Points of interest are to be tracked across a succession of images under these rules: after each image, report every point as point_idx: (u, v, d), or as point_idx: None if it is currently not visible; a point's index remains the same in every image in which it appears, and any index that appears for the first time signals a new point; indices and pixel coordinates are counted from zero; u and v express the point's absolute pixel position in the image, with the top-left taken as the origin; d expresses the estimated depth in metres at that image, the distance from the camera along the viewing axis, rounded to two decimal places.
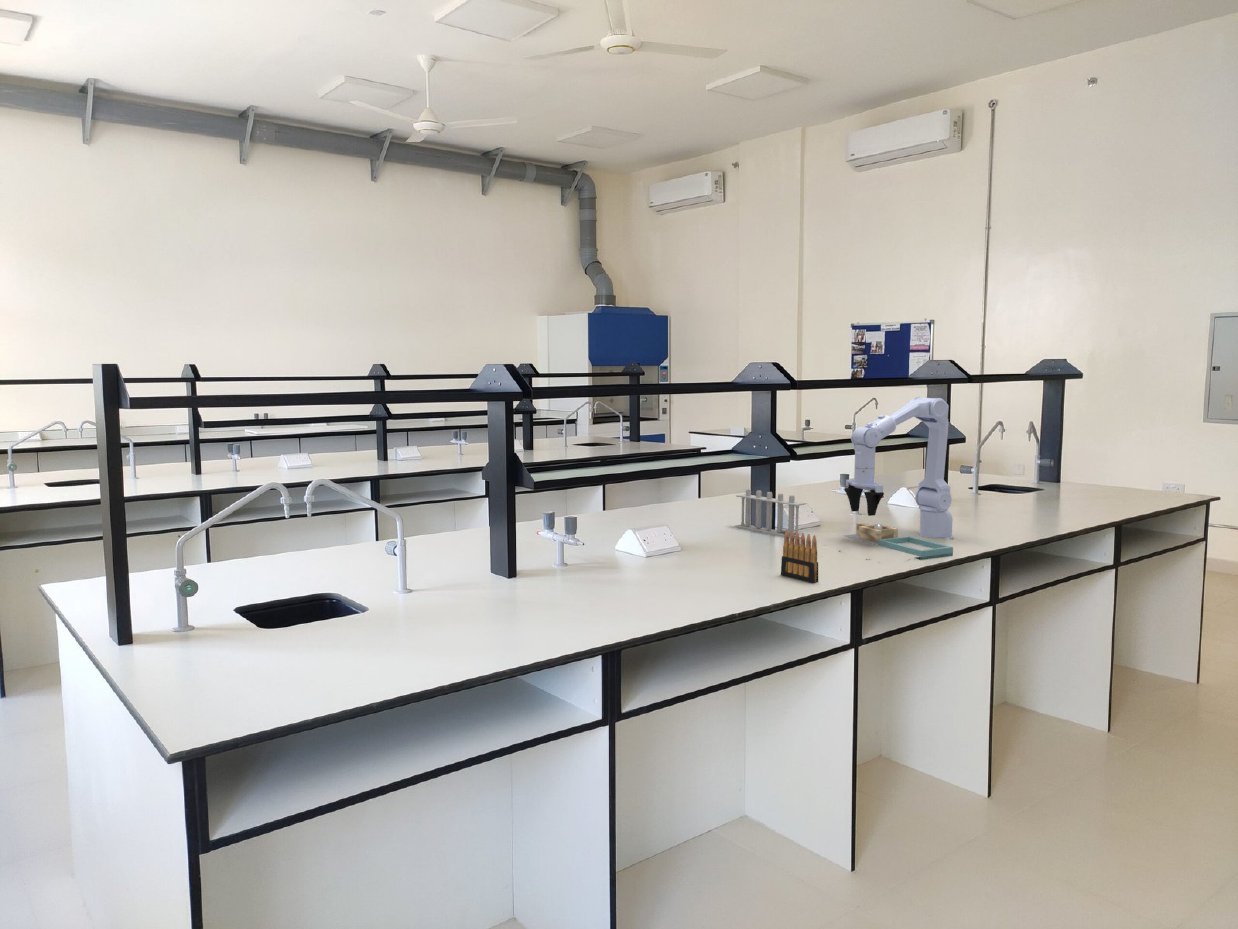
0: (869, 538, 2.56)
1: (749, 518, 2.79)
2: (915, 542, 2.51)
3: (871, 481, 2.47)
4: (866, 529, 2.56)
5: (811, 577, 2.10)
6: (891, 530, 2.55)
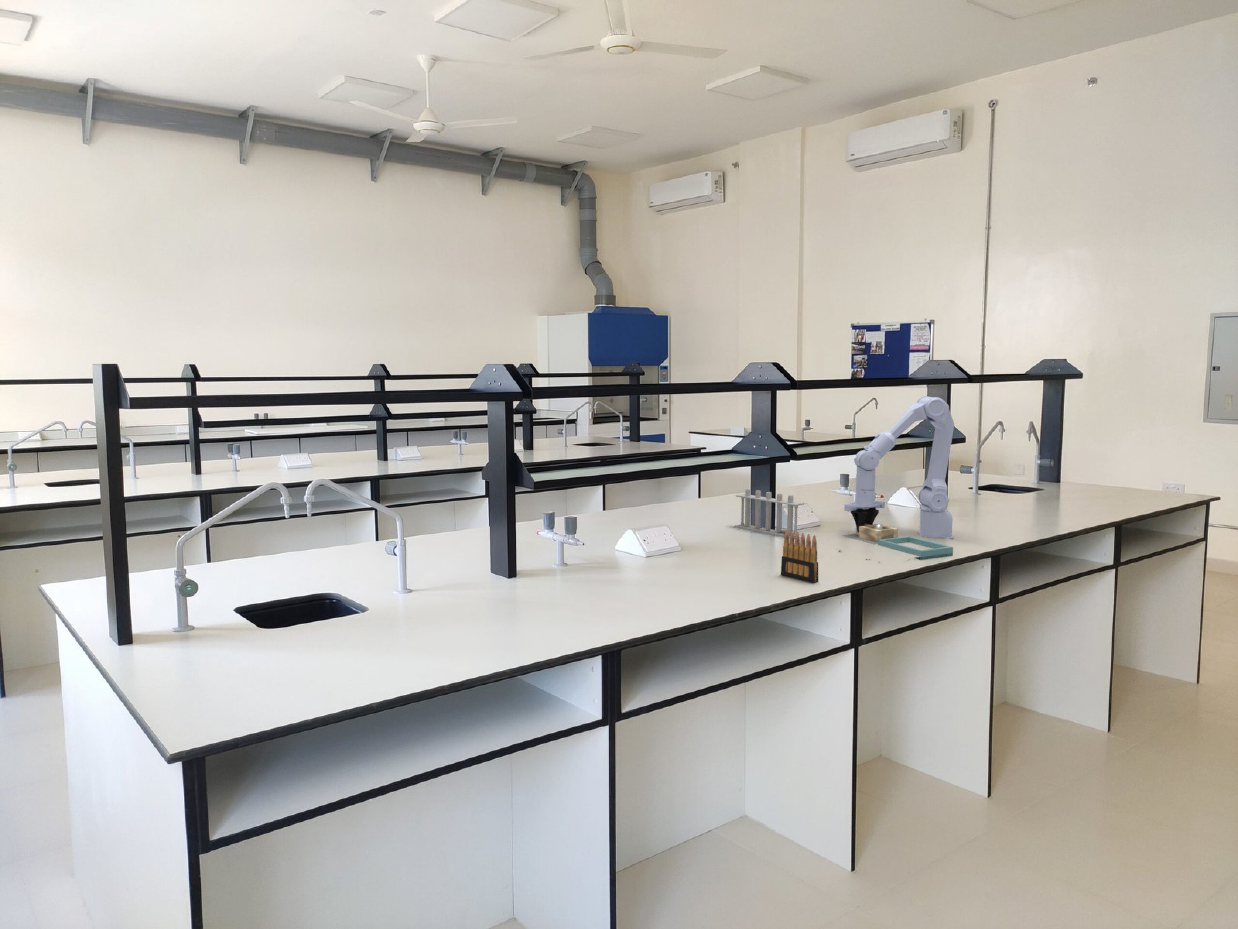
0: (869, 538, 2.56)
1: (749, 518, 2.79)
2: (915, 542, 2.51)
3: (858, 501, 2.61)
4: (866, 529, 2.56)
5: (811, 577, 2.10)
6: (891, 530, 2.55)
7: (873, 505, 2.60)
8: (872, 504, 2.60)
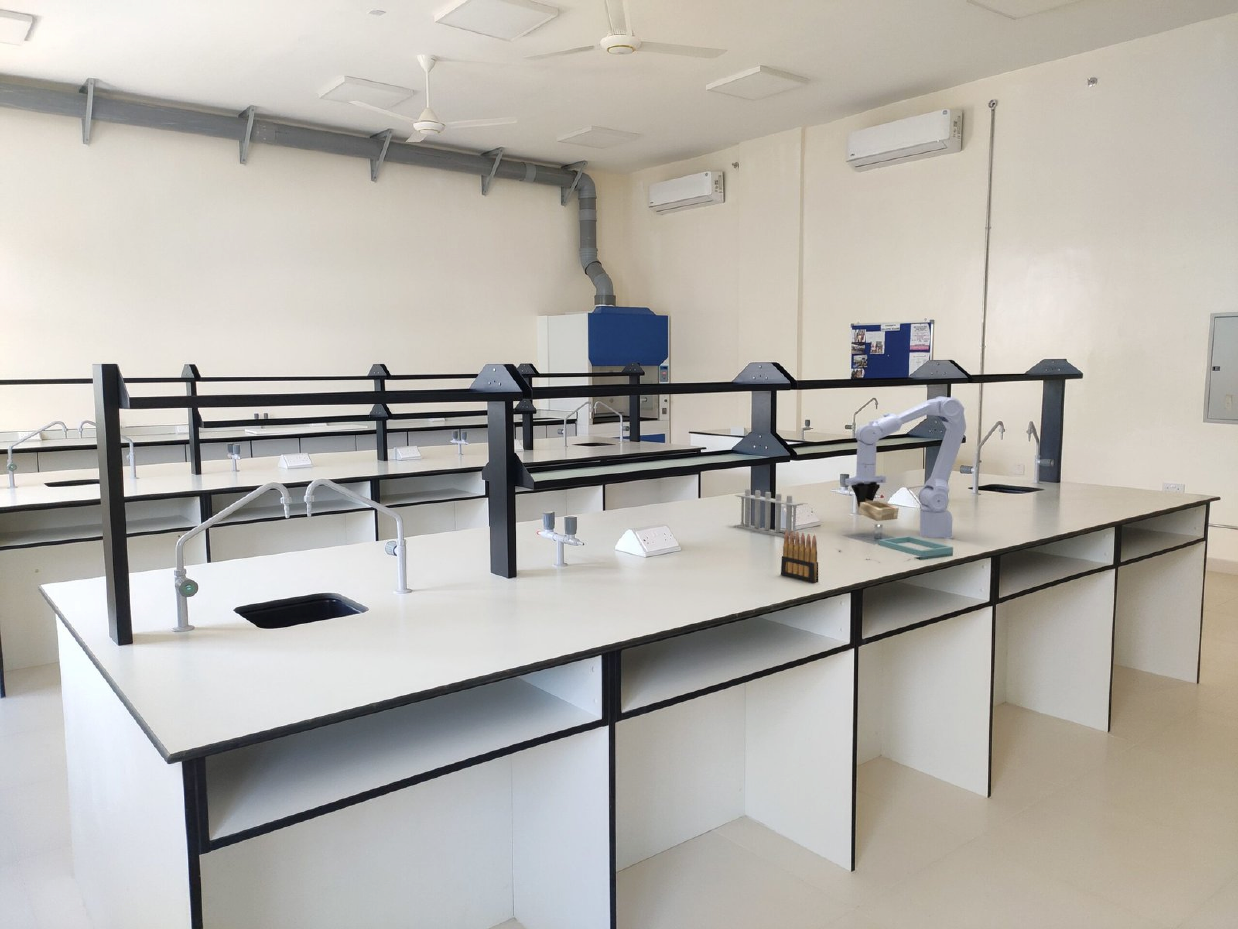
0: (869, 515, 2.55)
1: (748, 518, 2.79)
2: (915, 542, 2.51)
3: (859, 476, 2.60)
4: (867, 506, 2.56)
5: (811, 577, 2.10)
6: (892, 509, 2.54)
7: (874, 479, 2.59)
8: (873, 478, 2.59)
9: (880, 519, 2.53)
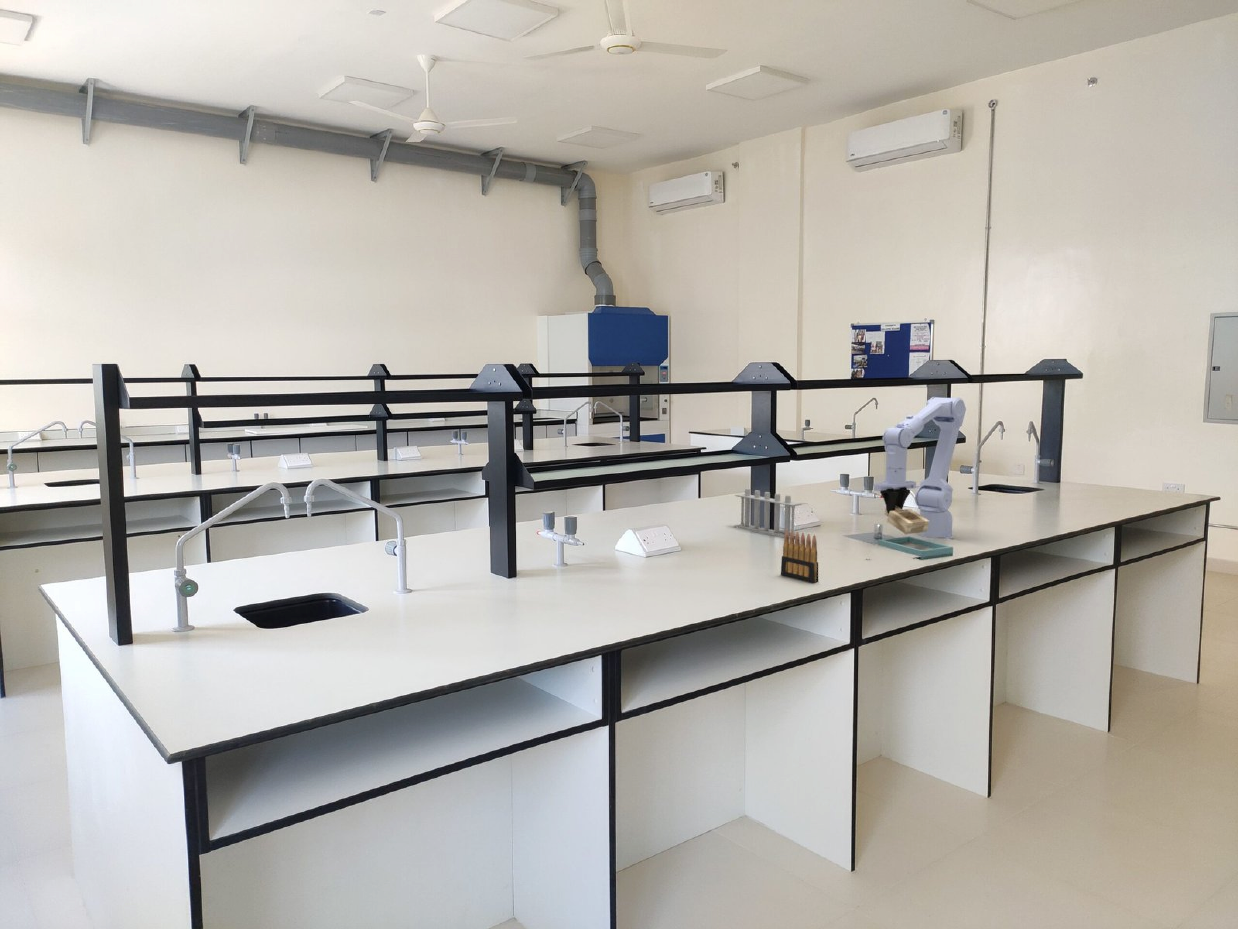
0: (898, 527, 2.44)
1: (748, 518, 2.79)
2: (915, 542, 2.51)
3: (889, 481, 2.48)
4: (897, 517, 2.45)
5: (811, 577, 2.10)
6: (922, 522, 2.43)
7: (904, 485, 2.48)
8: (903, 483, 2.48)
9: (909, 532, 2.42)
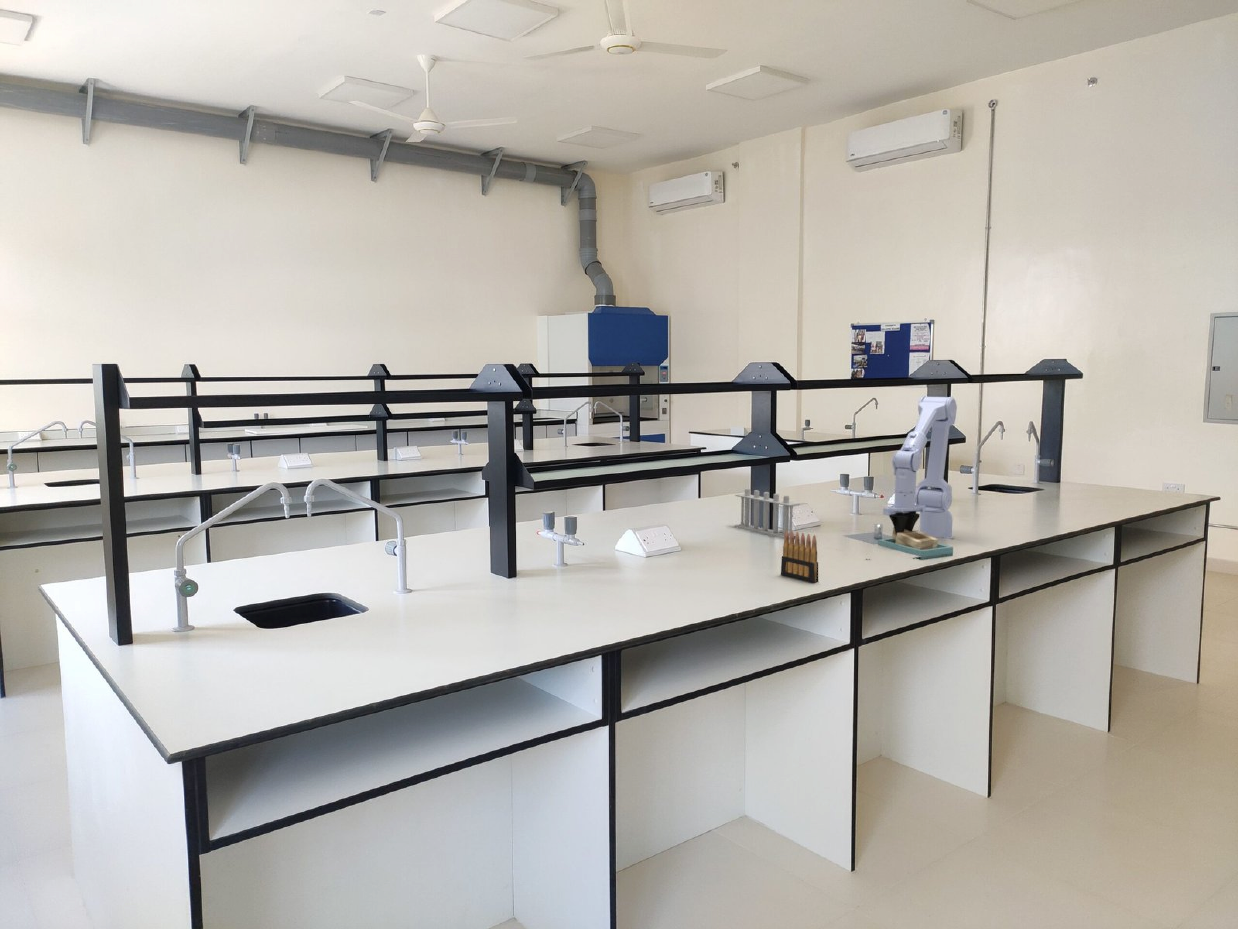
0: None
1: (748, 518, 2.79)
2: None
3: (898, 505, 2.46)
4: (904, 537, 2.42)
5: (811, 577, 2.10)
6: (931, 541, 2.40)
7: (914, 509, 2.45)
8: (913, 508, 2.45)
9: None
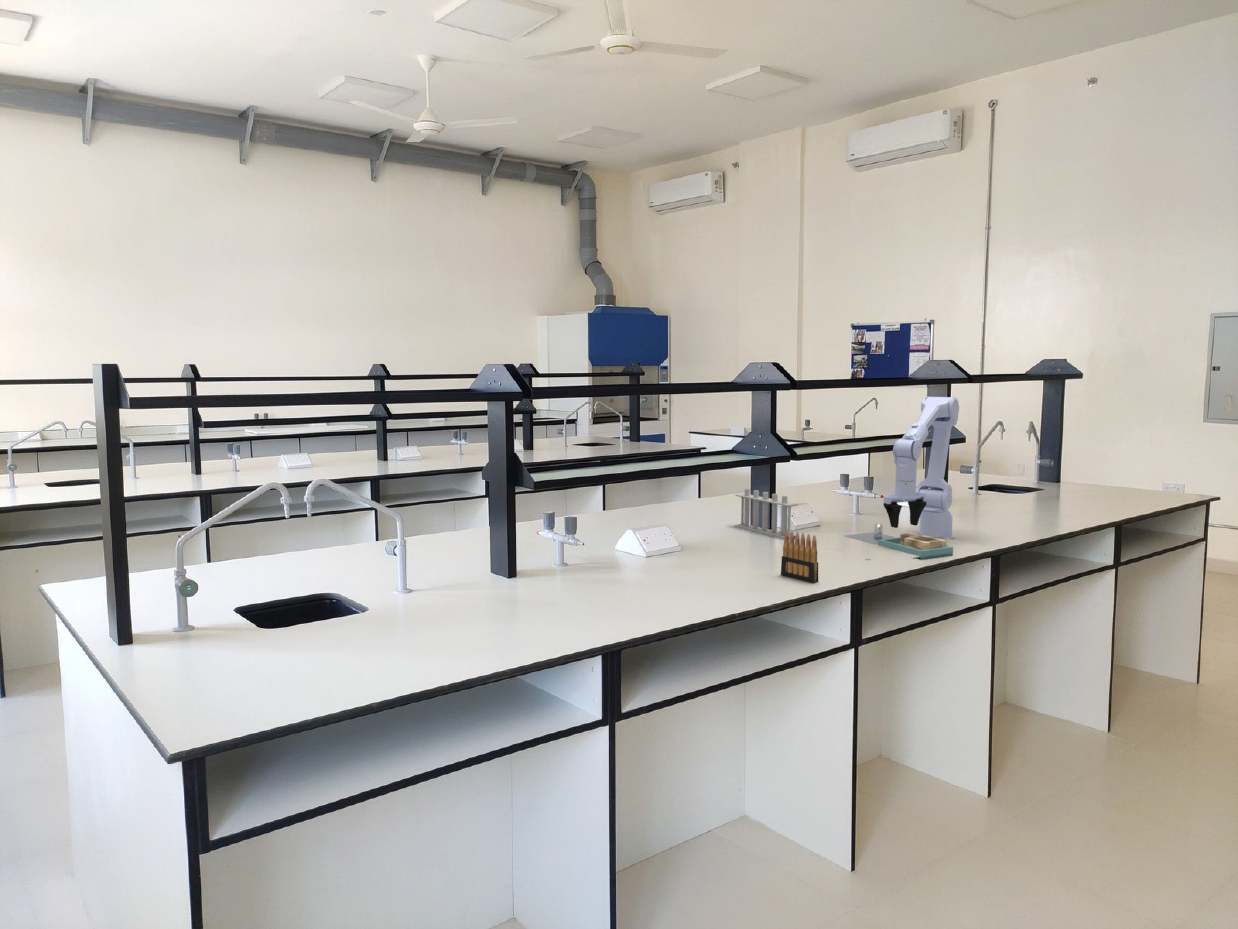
0: None
1: (748, 518, 2.80)
2: None
3: (899, 493, 2.45)
4: (912, 541, 2.41)
5: (811, 577, 2.10)
6: (939, 542, 2.39)
7: (914, 497, 2.45)
8: (913, 496, 2.44)
9: None
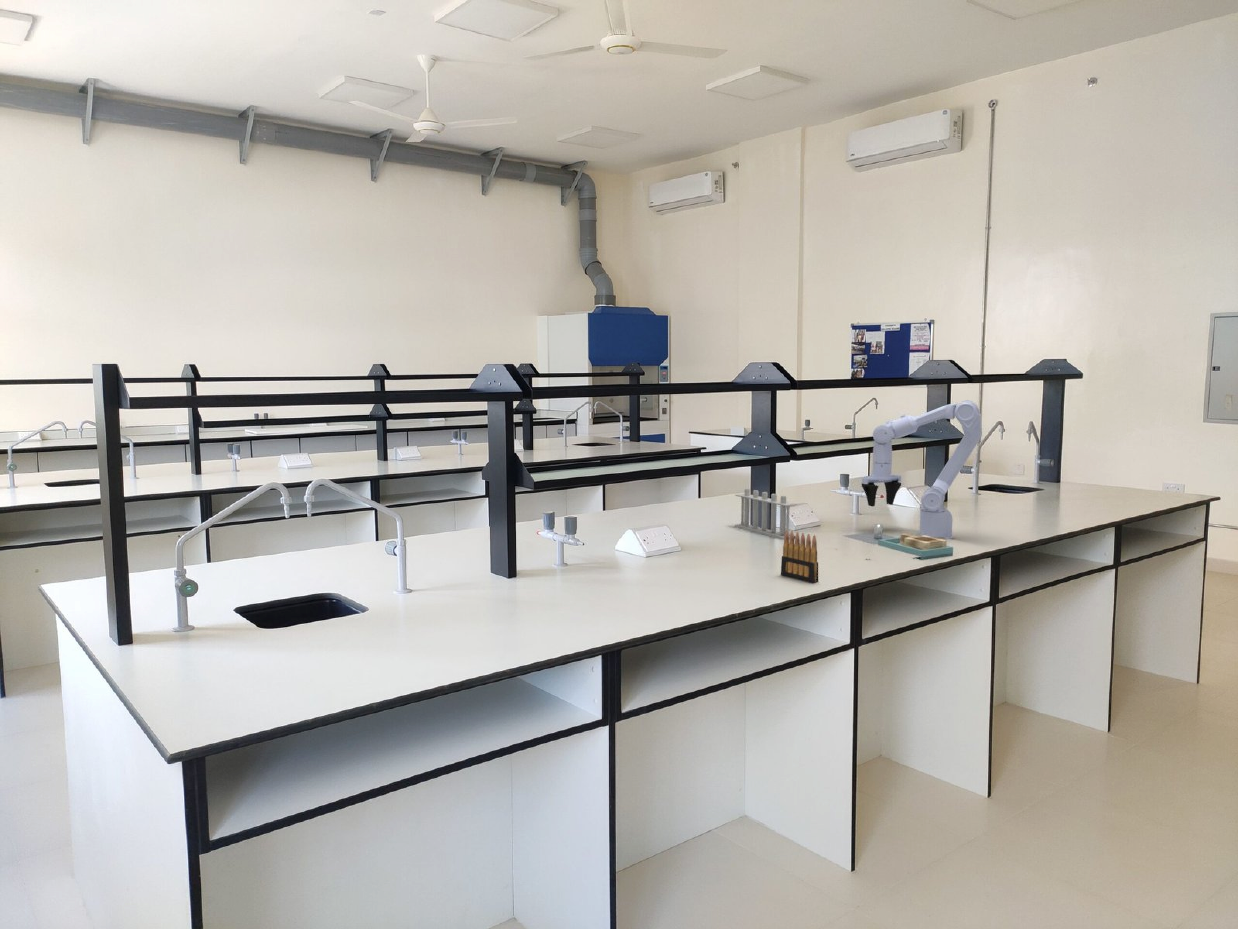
0: None
1: (747, 518, 2.80)
2: None
3: (875, 475, 2.66)
4: (912, 541, 2.41)
5: (811, 577, 2.10)
6: (939, 542, 2.39)
7: (890, 478, 2.66)
8: (889, 477, 2.65)
9: None
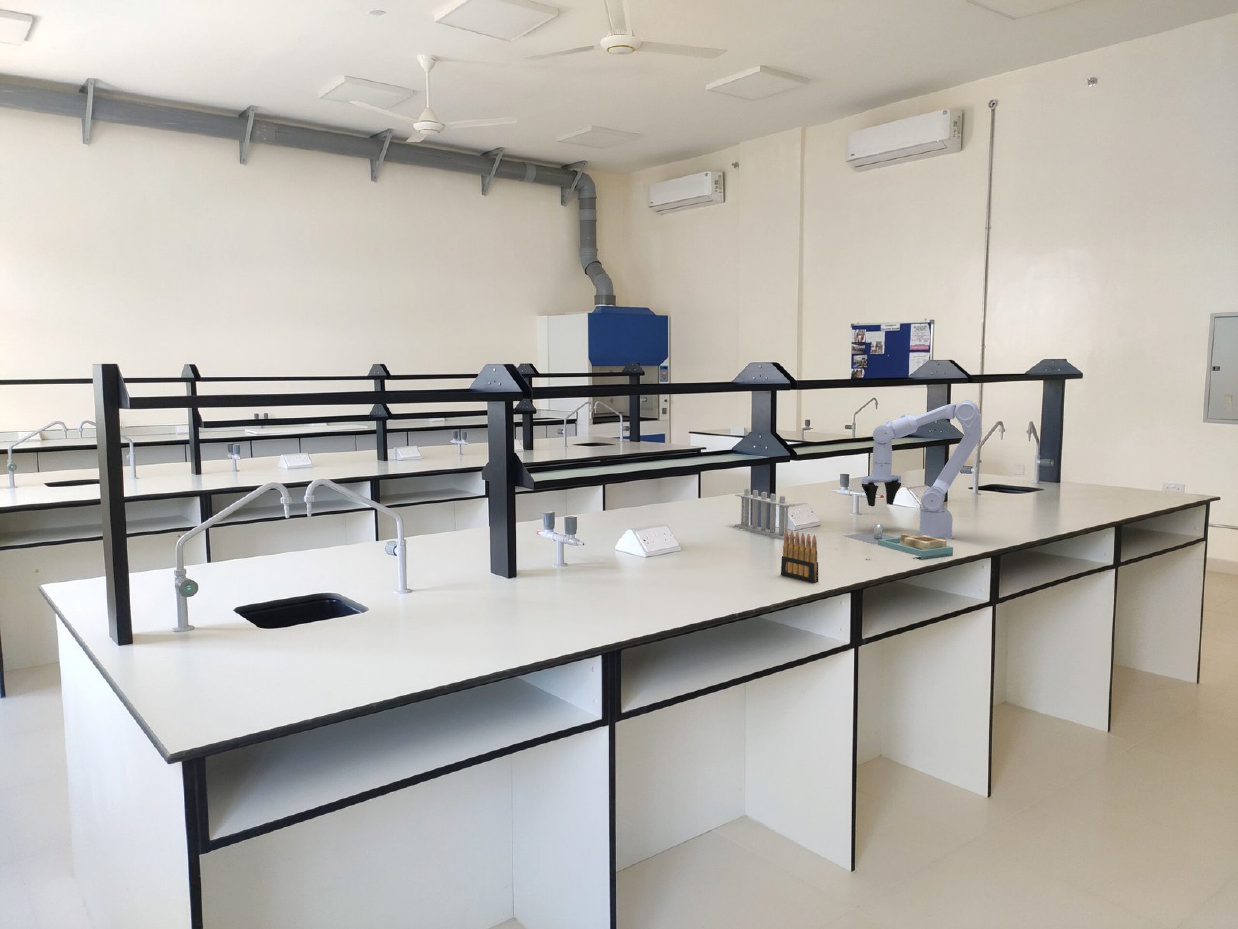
0: None
1: (747, 517, 2.80)
2: None
3: (875, 475, 2.66)
4: (912, 541, 2.41)
5: (811, 577, 2.10)
6: (939, 542, 2.39)
7: (890, 478, 2.66)
8: (889, 477, 2.65)
9: None
